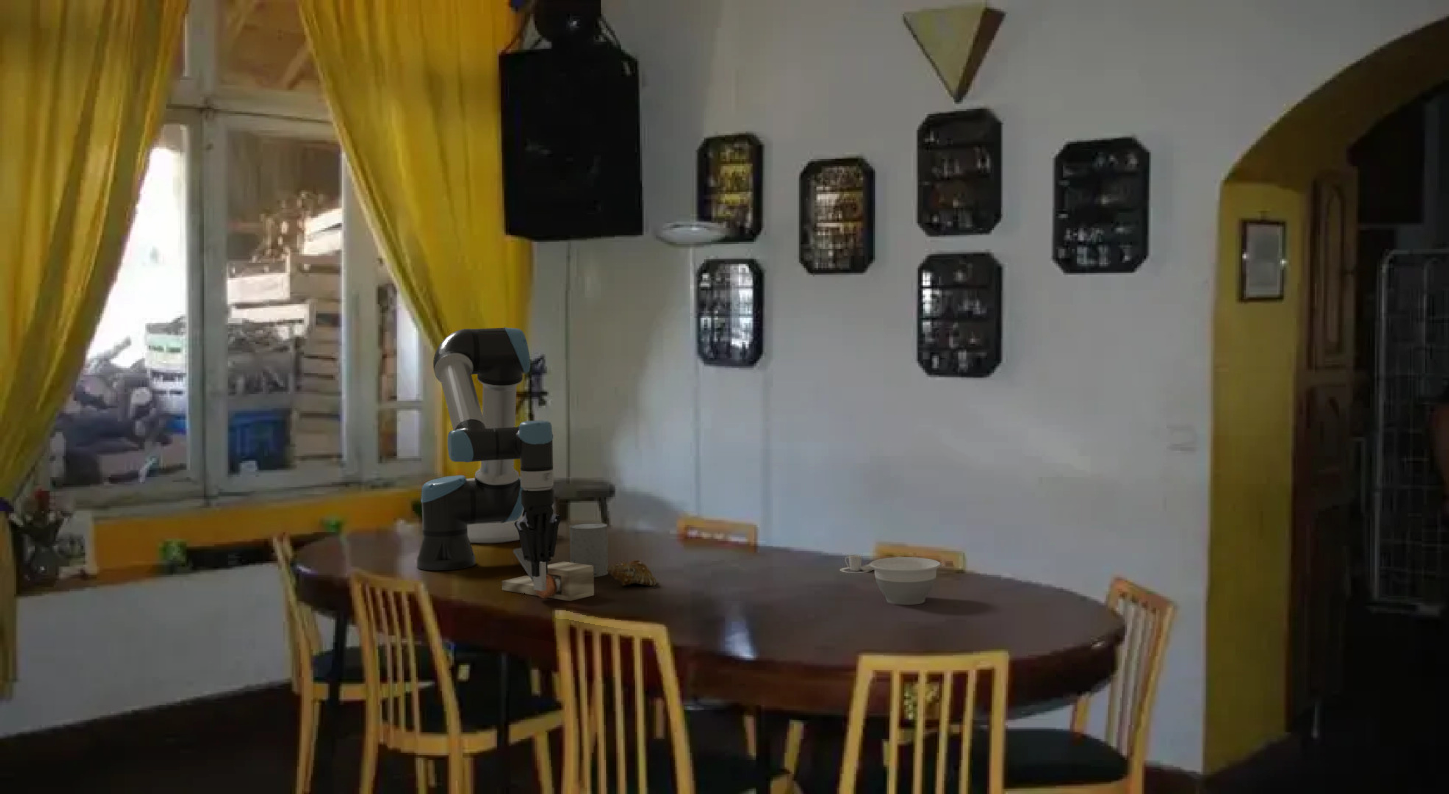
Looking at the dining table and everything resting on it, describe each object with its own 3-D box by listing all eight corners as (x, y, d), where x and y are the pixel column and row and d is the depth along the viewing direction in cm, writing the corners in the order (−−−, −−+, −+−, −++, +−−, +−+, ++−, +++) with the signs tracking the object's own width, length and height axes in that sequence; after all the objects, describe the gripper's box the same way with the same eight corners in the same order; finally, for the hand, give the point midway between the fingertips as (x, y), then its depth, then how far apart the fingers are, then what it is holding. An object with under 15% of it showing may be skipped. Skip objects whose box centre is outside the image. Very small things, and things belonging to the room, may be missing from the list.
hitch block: (502, 590, 350) (501, 561, 350) (526, 584, 357) (525, 556, 356) (569, 601, 336) (569, 571, 336) (594, 595, 342) (593, 565, 342)
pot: (527, 544, 416) (526, 486, 415) (442, 546, 417) (440, 487, 415) (540, 530, 442) (538, 475, 441) (460, 531, 442) (458, 476, 441)
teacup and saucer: (880, 571, 367) (880, 555, 366) (860, 576, 361) (860, 560, 361) (853, 567, 373) (852, 552, 372) (833, 572, 367) (833, 556, 367)
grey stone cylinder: (602, 577, 364) (601, 528, 363) (565, 576, 366) (564, 528, 365) (612, 570, 373) (611, 523, 372) (577, 569, 375) (575, 522, 374)
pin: (535, 597, 338) (534, 574, 337) (577, 587, 349) (577, 565, 348) (550, 599, 335) (550, 577, 334) (593, 589, 345) (592, 567, 345)
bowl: (923, 610, 318) (923, 572, 318) (858, 604, 327) (857, 566, 326) (952, 597, 332) (952, 560, 331) (889, 591, 340) (888, 555, 340)
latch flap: (512, 551, 348) (514, 548, 347) (533, 547, 353) (536, 544, 353) (535, 586, 344) (537, 583, 343) (556, 581, 349) (558, 578, 349)
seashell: (635, 602, 348) (614, 567, 347) (621, 602, 355) (600, 568, 354) (664, 580, 353) (643, 546, 351) (648, 580, 360) (628, 547, 358)
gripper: (527, 492, 327) (530, 596, 328) (569, 486, 337) (571, 587, 338) (505, 490, 331) (508, 592, 333) (546, 484, 341) (549, 583, 343)
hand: (540, 589), depth 336 cm, fingers closed
